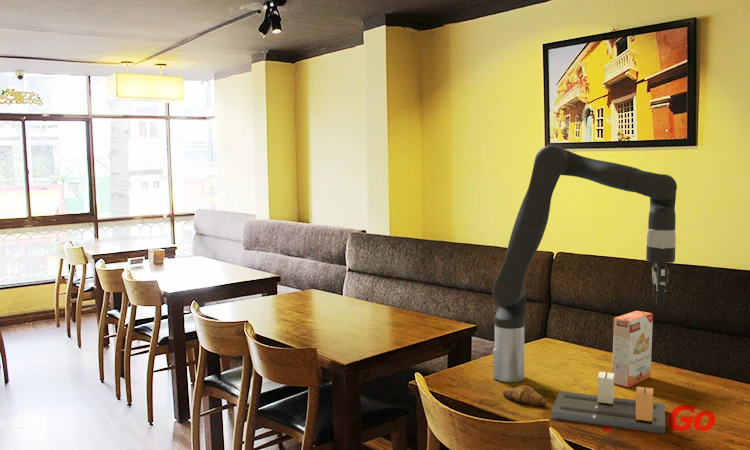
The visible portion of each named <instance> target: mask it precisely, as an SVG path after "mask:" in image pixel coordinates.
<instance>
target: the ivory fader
mask: <svg viewBox="0 0 750 450" xmlns="http://www.w3.org/2000/svg"><path fill="white" fill-rule="evenodd" d="M597 396H598V400H597V402H602V403H610V404H613V400H614V398H615V384H614V373H612V372H607V371H605V372H604V371H598V375H597Z"/></svg>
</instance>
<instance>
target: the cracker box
mask: <svg viewBox="0 0 750 450" xmlns="http://www.w3.org/2000/svg"><path fill="white" fill-rule="evenodd" d="M653 318H654V314H653V313H652V312H646V311H640V310H635V311H632V312H628V313H626V314H625V313H624V314H622V315H619V316H616V317H613V330H612V331H613V332H612V333H613V334H612V336H613V339H612V340H613V341H612V366H611V369H612V370H611V371H612V372H611V373H614V385H617V386H622V387H623V388H630V387H633V386H635V385H637V384H639V383H641V382H643V381H645V380H648V379H649V378H651V372H652V371H651V370H652V367H651V366H652V344H653V343H652V342H653V323H654V322H653V320H654V319H653Z"/></svg>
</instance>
